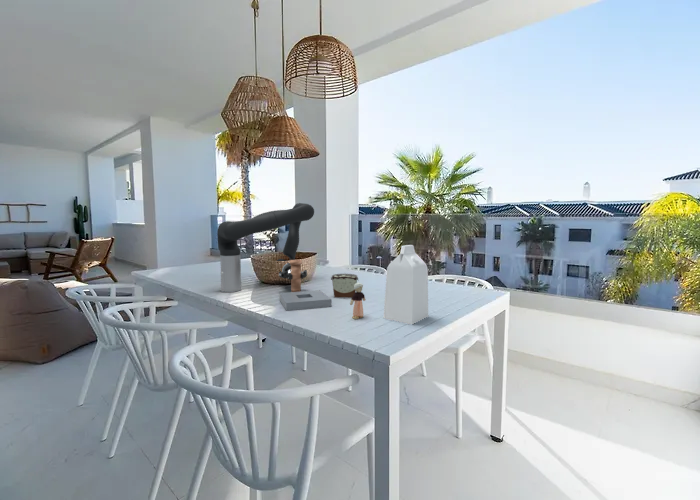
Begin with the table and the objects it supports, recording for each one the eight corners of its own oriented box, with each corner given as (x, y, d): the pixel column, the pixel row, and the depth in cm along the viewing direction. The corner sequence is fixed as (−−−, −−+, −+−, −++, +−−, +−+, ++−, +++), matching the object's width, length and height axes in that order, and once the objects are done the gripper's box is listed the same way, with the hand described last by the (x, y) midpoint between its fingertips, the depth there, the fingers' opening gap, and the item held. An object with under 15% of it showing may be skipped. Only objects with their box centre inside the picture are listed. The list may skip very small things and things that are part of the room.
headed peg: (291, 295, 160) (290, 261, 158) (289, 293, 165) (288, 260, 163) (303, 294, 161) (303, 261, 160) (300, 292, 167) (300, 259, 165)
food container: (359, 295, 161) (359, 273, 160) (358, 298, 155) (358, 276, 154) (332, 294, 162) (332, 273, 161) (330, 297, 156) (330, 275, 155)
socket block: (286, 310, 135) (286, 302, 134) (279, 299, 152) (279, 293, 151) (331, 306, 141) (331, 299, 141) (319, 296, 158) (319, 290, 157)
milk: (401, 311, 135) (402, 243, 132) (428, 316, 127) (430, 245, 125) (383, 318, 125) (384, 245, 123) (411, 324, 118) (413, 247, 116)
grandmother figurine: (357, 320, 122) (357, 284, 121) (348, 318, 124) (348, 283, 123) (368, 315, 129) (368, 281, 128) (359, 313, 131) (359, 280, 130)
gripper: (275, 264, 173) (281, 269, 157) (304, 263, 178) (312, 267, 162) (276, 279, 174) (281, 286, 158) (304, 277, 178) (312, 283, 162)
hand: (297, 276), depth 160 cm, fingers closed on headed peg, 4 cm apart
